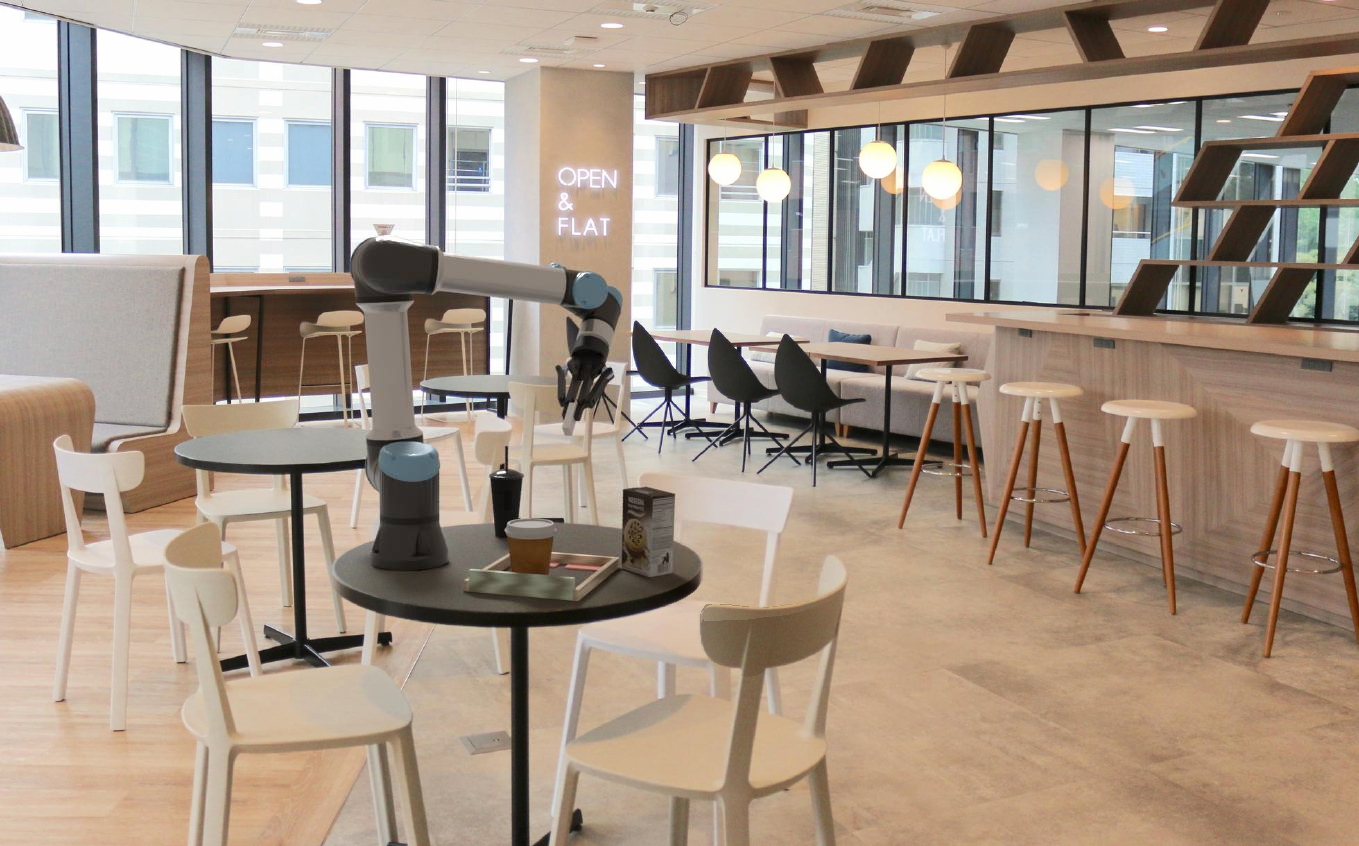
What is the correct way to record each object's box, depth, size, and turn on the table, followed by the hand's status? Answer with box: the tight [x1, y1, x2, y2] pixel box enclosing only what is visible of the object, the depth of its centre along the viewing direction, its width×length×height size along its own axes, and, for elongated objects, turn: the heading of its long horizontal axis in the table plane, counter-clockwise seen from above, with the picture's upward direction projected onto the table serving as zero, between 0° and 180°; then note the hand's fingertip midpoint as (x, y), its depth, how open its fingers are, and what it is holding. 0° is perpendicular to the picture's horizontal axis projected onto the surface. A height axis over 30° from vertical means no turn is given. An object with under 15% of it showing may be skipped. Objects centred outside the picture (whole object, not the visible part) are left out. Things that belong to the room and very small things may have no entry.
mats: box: [549, 561, 603, 572], centre depth 236 cm, size 18×4×1 cm, turn 77°
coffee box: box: [621, 486, 676, 578], centre depth 233 cm, size 9×6×16 cm
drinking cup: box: [488, 445, 525, 538], centre depth 261 cm, size 8×8×20 cm
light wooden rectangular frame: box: [463, 551, 620, 602], centre depth 226 cm, size 22×26×4 cm
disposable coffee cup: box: [505, 517, 557, 575], centre depth 220 cm, size 10×10×12 cm
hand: (566, 431), depth 241 cm, fingers closed
